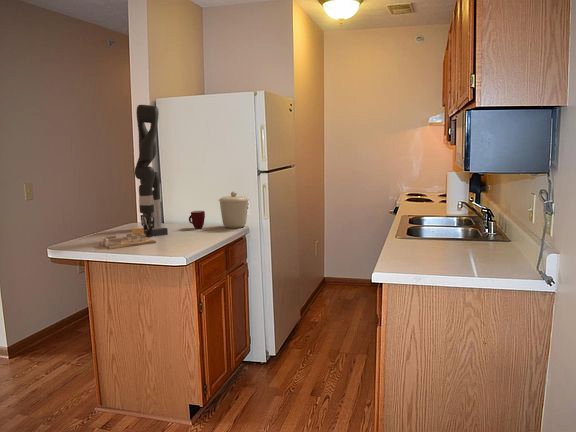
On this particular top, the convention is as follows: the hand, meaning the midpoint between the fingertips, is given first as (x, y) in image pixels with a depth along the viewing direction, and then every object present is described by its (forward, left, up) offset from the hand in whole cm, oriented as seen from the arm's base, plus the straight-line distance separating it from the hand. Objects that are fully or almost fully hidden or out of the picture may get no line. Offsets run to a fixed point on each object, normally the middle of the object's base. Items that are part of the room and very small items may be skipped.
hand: (148, 234), depth 272 cm
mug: (-7, +32, -1) cm, 33 cm away
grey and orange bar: (0, +2, -1) cm, 2 cm away
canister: (+3, +52, -1) cm, 52 cm away
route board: (+11, -15, -1) cm, 19 cm away
